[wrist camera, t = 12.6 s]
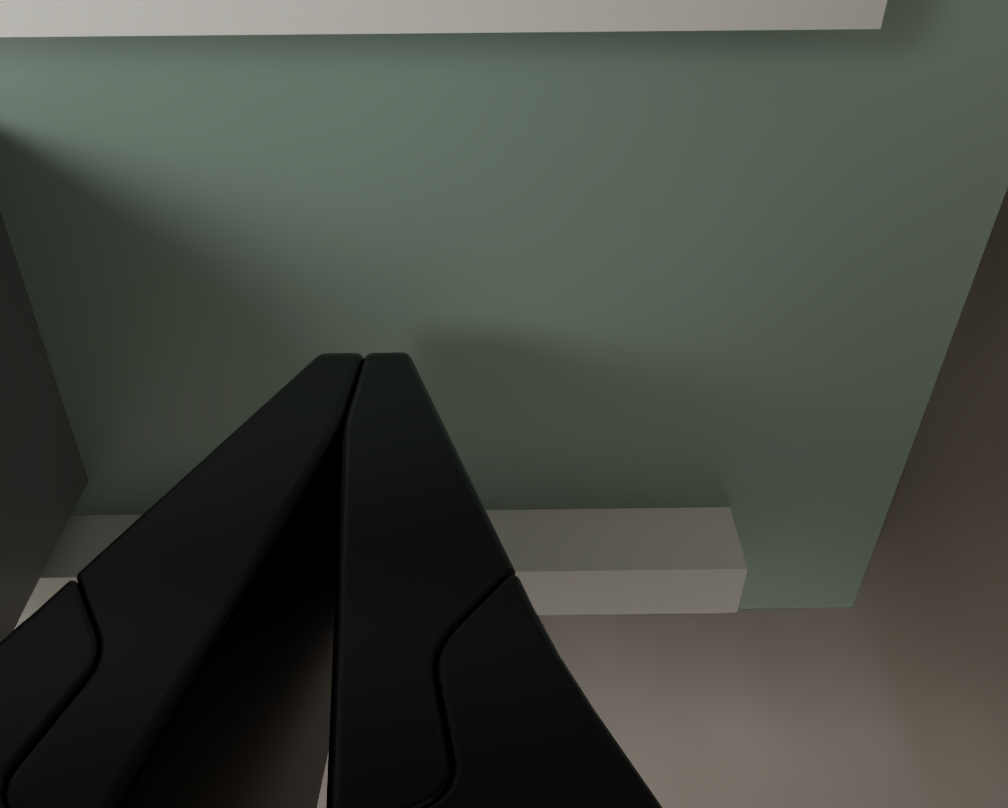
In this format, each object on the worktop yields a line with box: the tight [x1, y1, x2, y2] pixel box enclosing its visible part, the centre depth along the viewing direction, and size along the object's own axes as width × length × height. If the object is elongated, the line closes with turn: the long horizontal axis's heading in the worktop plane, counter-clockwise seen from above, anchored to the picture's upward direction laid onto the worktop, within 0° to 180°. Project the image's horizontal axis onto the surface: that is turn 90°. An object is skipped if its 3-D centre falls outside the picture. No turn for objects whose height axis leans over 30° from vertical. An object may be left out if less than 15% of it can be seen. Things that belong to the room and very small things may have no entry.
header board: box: [0, 0, 1008, 622], centre depth 9 cm, size 20×10×2 cm, turn 90°
